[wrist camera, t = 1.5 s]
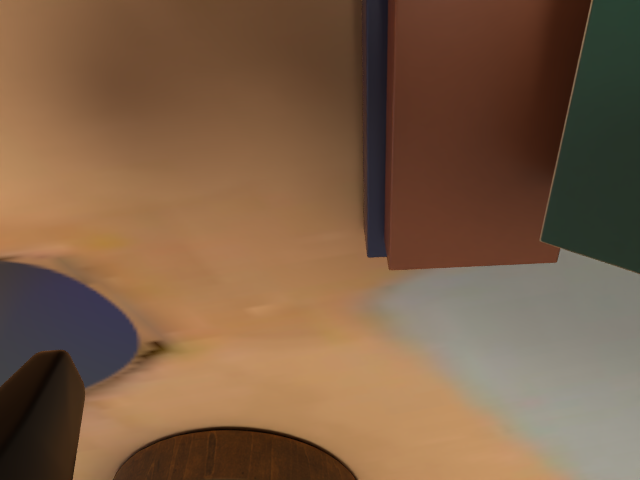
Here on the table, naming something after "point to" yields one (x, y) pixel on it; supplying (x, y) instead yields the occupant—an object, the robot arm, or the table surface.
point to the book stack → (464, 127)
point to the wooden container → (232, 459)
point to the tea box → (601, 144)
